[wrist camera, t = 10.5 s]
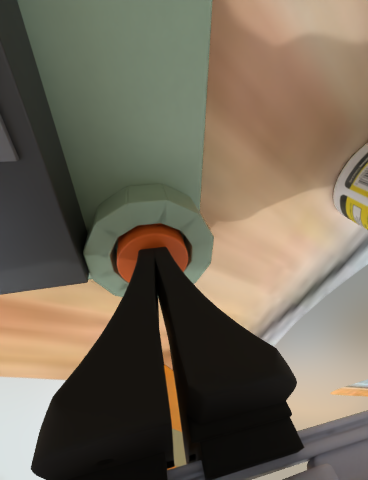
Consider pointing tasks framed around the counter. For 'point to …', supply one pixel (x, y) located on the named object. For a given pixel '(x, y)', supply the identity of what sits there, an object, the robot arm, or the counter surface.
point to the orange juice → (175, 420)
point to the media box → (128, 117)
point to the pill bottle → (354, 189)
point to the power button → (149, 246)
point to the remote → (33, 176)
